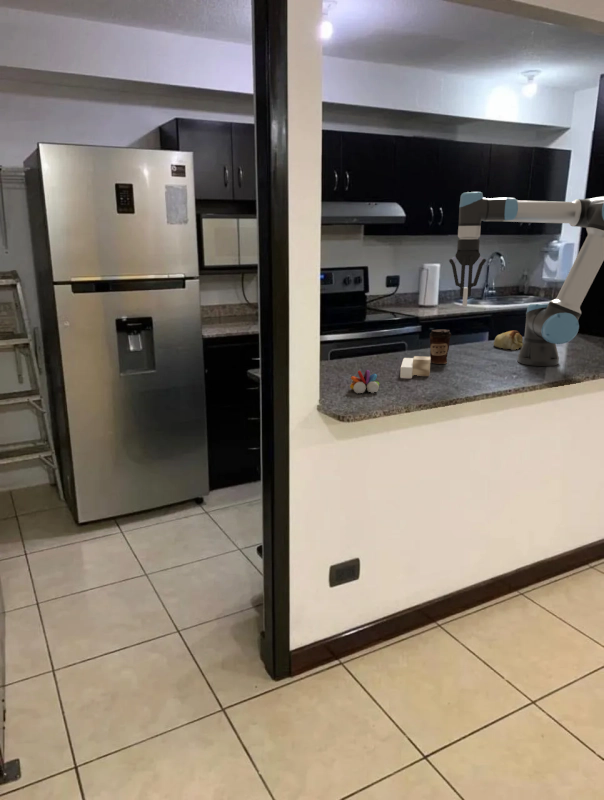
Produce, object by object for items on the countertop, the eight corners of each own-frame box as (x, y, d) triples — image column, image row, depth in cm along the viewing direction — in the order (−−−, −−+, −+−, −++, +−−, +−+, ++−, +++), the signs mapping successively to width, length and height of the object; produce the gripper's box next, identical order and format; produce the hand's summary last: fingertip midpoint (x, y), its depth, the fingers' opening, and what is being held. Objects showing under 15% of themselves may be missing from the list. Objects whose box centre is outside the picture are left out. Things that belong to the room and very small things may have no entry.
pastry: (524, 350, 257) (526, 332, 255) (494, 349, 260) (495, 331, 258) (520, 345, 270) (522, 327, 268) (492, 344, 273) (493, 326, 271)
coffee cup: (449, 365, 230) (451, 332, 227) (428, 364, 232) (429, 331, 228) (449, 360, 239) (451, 328, 235) (428, 360, 240) (429, 328, 237)
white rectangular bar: (414, 368, 226) (414, 358, 225) (411, 378, 211) (412, 367, 210) (403, 368, 227) (403, 357, 226) (400, 377, 212) (400, 367, 211)
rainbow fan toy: (348, 388, 199) (348, 367, 197) (376, 387, 200) (377, 366, 198) (352, 395, 191) (352, 373, 189) (381, 394, 192) (382, 372, 190)
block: (429, 372, 220) (430, 356, 218) (429, 376, 214) (430, 360, 213) (413, 371, 221) (414, 356, 220) (412, 375, 216) (413, 359, 214)
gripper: (487, 238, 211) (482, 304, 217) (449, 238, 214) (446, 304, 220) (488, 238, 204) (483, 307, 210) (449, 238, 207) (446, 306, 213)
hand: (464, 305), depth 215 cm, fingers closed
